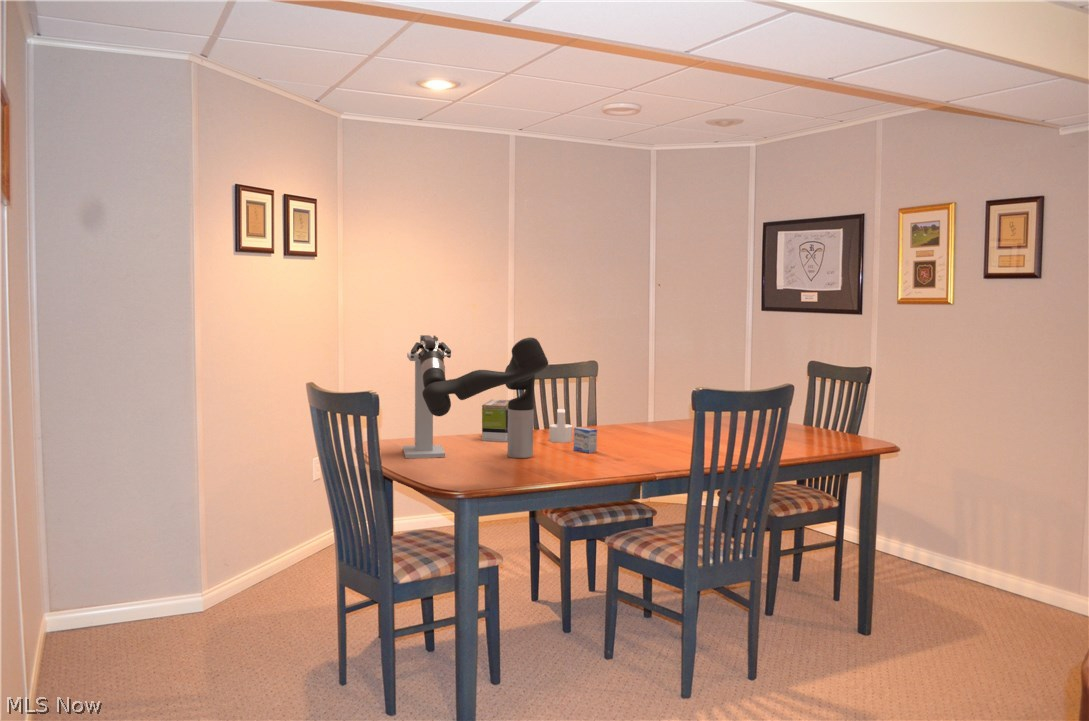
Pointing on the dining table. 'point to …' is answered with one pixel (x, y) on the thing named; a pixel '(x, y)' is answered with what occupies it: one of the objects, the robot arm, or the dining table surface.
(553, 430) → the cylinder with rectangular tab
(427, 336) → the dark cylinder
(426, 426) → the pedestal
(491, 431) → the tea box
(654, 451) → the dining table surface
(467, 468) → the dining table surface
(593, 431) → the medicine box
